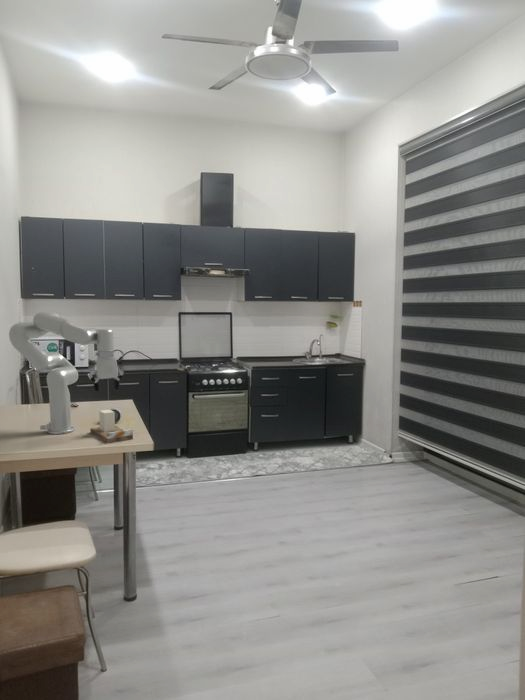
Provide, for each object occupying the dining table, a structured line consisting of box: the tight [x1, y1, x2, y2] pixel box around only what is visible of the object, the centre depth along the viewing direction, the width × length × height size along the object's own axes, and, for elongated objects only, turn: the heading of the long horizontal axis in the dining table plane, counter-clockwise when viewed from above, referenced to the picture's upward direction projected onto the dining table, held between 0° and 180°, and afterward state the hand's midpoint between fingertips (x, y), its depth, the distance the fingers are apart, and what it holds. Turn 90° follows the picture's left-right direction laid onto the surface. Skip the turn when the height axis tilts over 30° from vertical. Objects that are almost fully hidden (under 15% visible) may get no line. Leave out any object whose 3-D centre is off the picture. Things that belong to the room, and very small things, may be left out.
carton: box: [98, 409, 116, 432], centre depth 248 cm, size 5×7×9 cm
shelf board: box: [90, 425, 134, 444], centre depth 245 cm, size 12×24×4 cm, turn 36°
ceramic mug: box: [109, 407, 122, 424], centre depth 274 cm, size 11×8×8 cm
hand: (106, 389), depth 247 cm, fingers open, 9 cm apart
